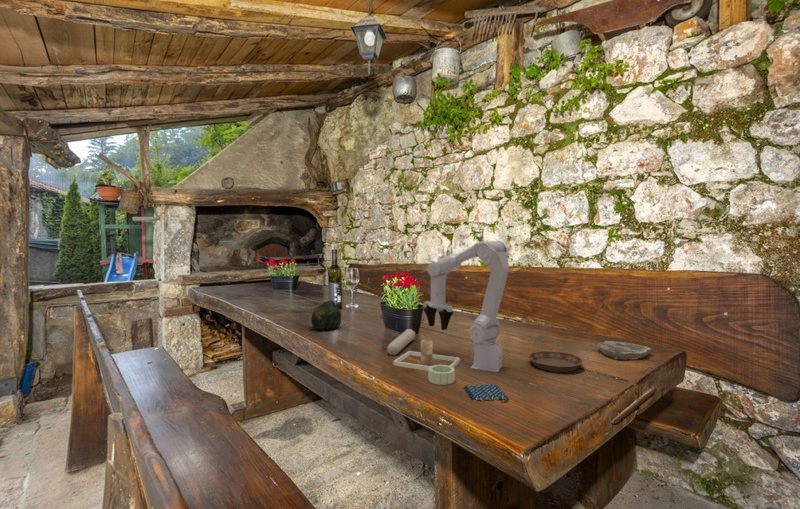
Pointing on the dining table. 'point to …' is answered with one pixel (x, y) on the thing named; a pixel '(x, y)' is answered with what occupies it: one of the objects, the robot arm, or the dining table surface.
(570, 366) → the plant saucer
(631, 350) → the grey stone slab
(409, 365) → the beige rectangular frame
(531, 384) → the dining table surface
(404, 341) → the tube
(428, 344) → the dowel pin
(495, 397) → the woven mat
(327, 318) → the squash
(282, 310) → the dining table surface
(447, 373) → the pale green short ring
